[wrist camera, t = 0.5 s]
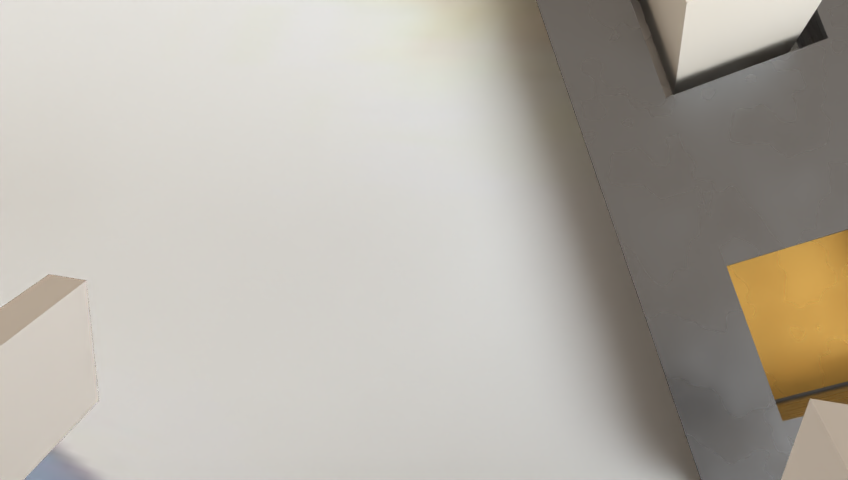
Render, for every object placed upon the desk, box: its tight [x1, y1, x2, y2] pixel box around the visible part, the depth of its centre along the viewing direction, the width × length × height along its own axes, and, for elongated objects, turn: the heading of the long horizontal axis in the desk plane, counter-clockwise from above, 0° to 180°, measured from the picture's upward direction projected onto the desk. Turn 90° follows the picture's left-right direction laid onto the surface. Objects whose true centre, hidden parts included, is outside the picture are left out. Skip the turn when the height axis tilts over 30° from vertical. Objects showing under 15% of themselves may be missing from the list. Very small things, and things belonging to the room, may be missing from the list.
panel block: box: [536, 0, 848, 480], centre depth 28 cm, size 24×12×4 cm, turn 19°
